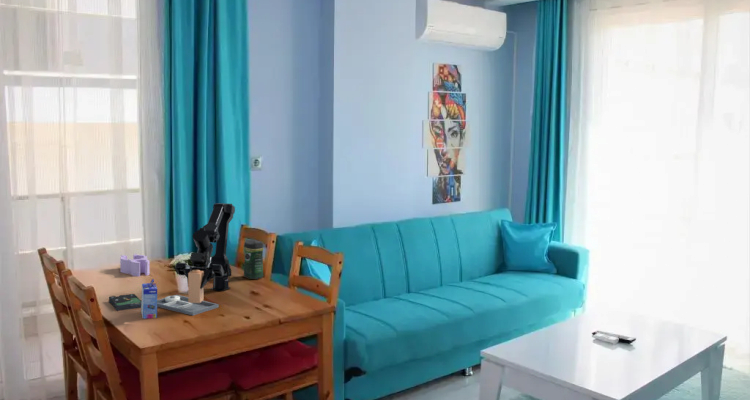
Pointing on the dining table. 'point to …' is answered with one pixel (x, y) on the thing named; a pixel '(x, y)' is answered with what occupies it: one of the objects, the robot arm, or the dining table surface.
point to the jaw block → (195, 286)
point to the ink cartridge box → (149, 300)
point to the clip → (134, 265)
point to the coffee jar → (253, 259)
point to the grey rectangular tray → (185, 305)
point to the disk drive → (125, 302)
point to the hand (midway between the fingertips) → (194, 288)
